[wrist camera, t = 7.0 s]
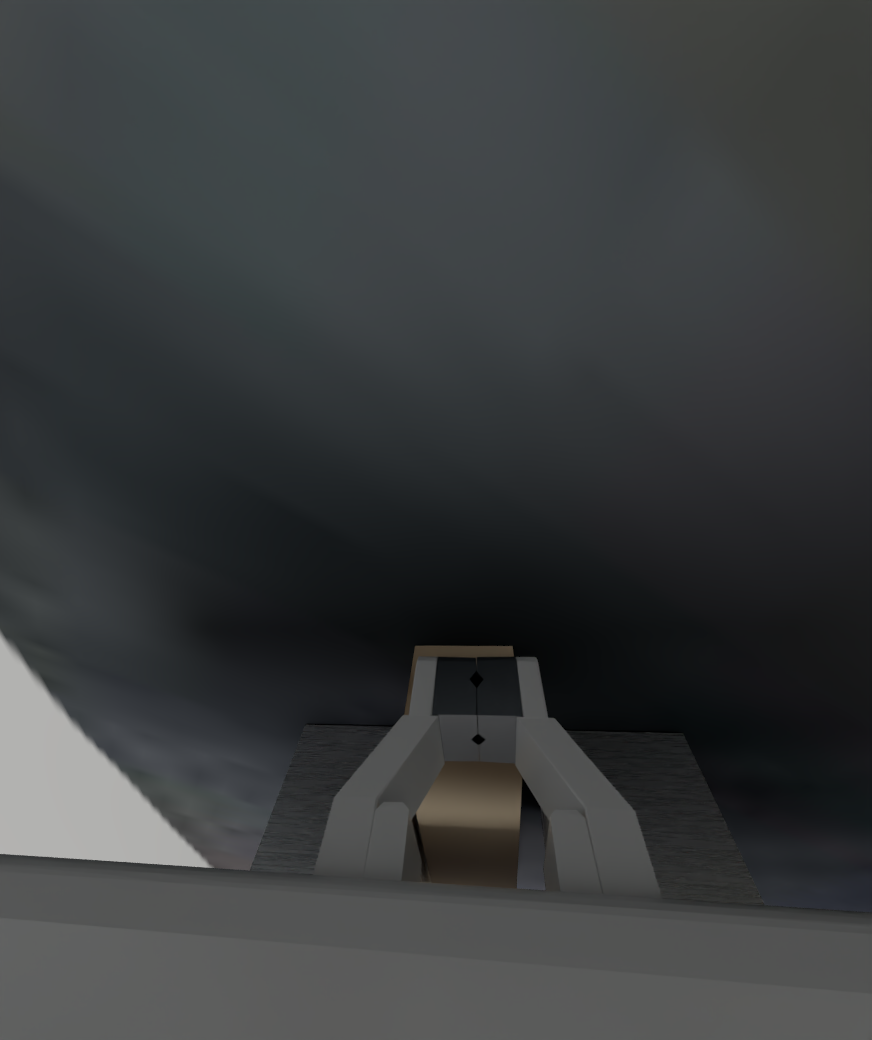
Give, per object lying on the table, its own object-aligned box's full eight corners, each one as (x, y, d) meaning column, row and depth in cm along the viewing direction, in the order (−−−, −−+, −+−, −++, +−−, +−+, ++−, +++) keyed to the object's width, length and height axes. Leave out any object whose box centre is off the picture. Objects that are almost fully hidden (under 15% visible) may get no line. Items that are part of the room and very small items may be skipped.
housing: (305, 724, 15) (162, 1098, 8) (682, 733, 13) (906, 1203, 6) (339, 803, 18) (256, 1124, 11) (650, 817, 16) (780, 1201, 9)
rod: (415, 645, 12) (399, 740, 10) (512, 646, 12) (523, 744, 9) (449, 862, 20) (445, 946, 18) (507, 866, 20) (513, 952, 17)
